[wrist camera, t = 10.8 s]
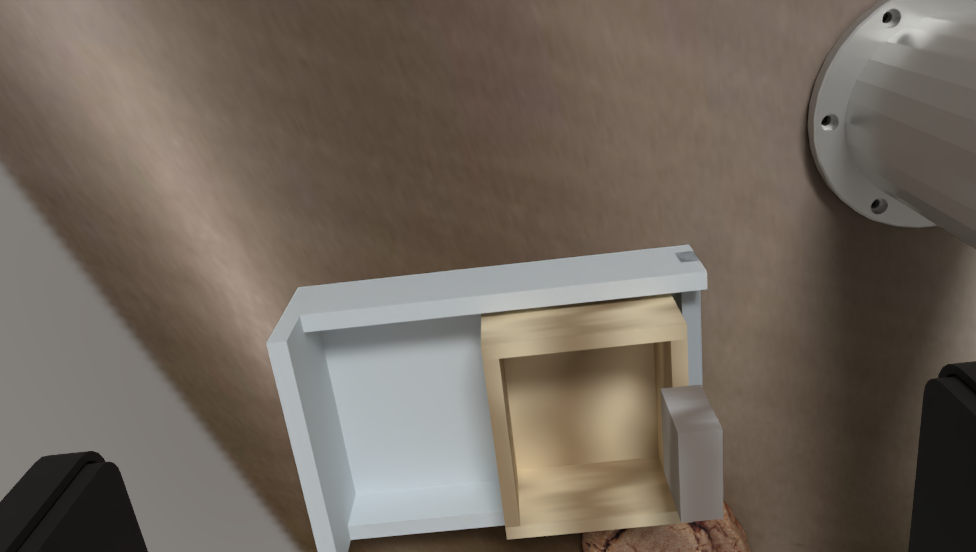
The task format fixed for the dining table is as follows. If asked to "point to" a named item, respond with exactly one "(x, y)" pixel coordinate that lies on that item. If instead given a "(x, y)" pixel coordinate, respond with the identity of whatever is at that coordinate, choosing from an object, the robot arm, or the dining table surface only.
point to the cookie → (673, 537)
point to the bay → (428, 384)
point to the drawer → (599, 418)
